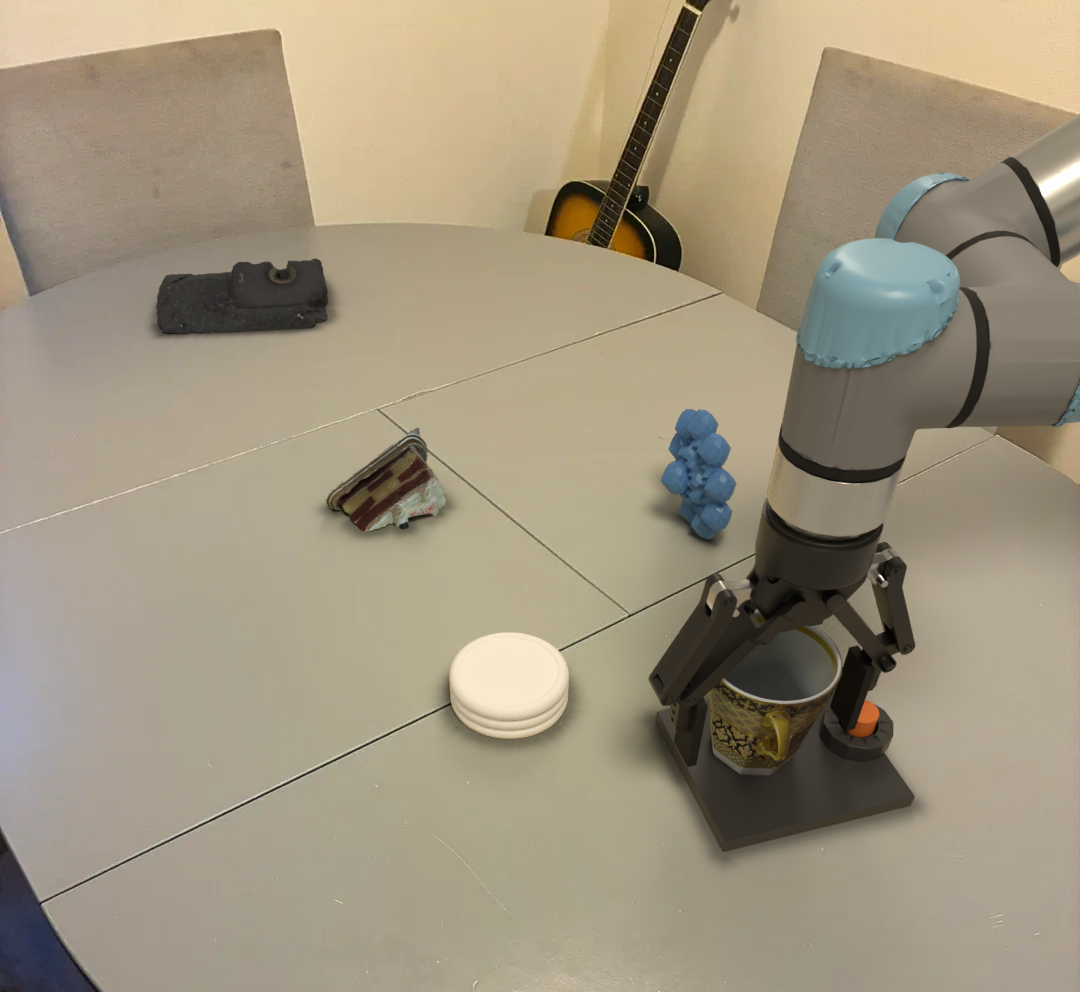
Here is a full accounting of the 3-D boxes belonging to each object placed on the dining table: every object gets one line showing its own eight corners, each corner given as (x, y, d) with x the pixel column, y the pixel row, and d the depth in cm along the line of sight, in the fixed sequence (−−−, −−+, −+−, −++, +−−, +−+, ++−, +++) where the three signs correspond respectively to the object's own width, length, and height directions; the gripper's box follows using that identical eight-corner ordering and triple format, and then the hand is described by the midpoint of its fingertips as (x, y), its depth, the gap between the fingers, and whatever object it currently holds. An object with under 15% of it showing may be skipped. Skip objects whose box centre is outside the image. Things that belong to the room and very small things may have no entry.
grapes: (632, 498, 108) (643, 394, 100) (691, 487, 110) (707, 384, 101) (677, 564, 101) (693, 458, 92) (739, 552, 102) (761, 446, 94)
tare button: (863, 711, 84) (869, 696, 83) (880, 733, 82) (885, 718, 81) (835, 717, 84) (840, 702, 82) (851, 740, 82) (856, 725, 81)
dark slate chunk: (164, 285, 140) (156, 250, 136) (328, 277, 143) (324, 242, 139) (154, 339, 130) (144, 302, 126) (330, 329, 132) (325, 293, 129)
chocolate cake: (352, 553, 102) (433, 466, 98) (318, 503, 104) (395, 415, 100) (408, 569, 110) (484, 489, 106) (374, 522, 112) (448, 442, 108)
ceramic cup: (685, 698, 86) (701, 607, 79) (804, 702, 86) (831, 612, 79) (696, 821, 78) (715, 732, 70) (829, 826, 77) (861, 737, 70)
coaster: (440, 734, 85) (437, 705, 82) (462, 652, 92) (461, 623, 89) (560, 748, 84) (561, 719, 82) (574, 665, 91) (575, 635, 88)
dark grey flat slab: (839, 682, 90) (847, 658, 88) (924, 804, 81) (935, 779, 79) (654, 722, 86) (658, 697, 84) (722, 854, 77) (728, 830, 75)
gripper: (963, 446, 70) (882, 672, 85) (618, 504, 64) (598, 733, 80) (1030, 510, 65) (930, 736, 80) (662, 578, 59) (632, 806, 75)
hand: (764, 735), depth 80 cm, fingers open, 13 cm apart
